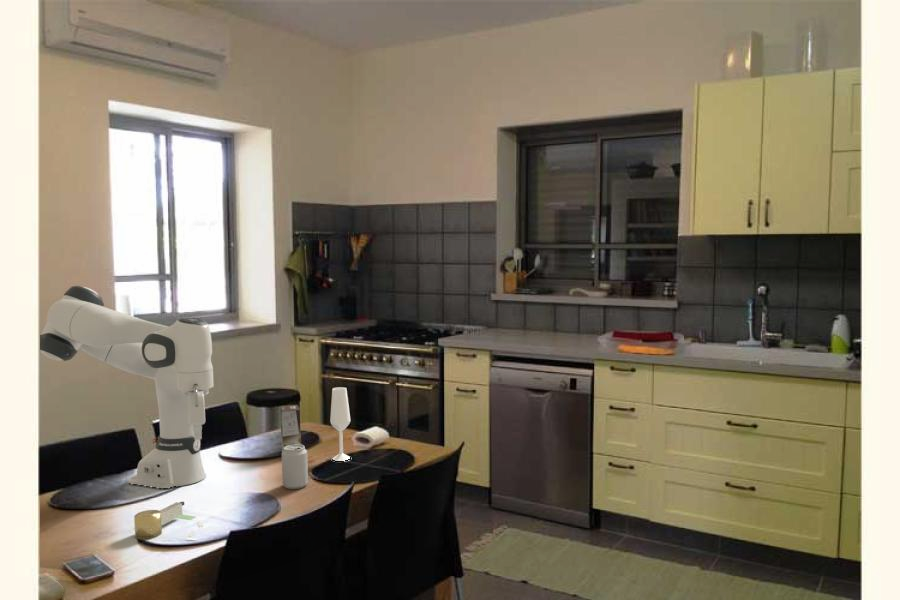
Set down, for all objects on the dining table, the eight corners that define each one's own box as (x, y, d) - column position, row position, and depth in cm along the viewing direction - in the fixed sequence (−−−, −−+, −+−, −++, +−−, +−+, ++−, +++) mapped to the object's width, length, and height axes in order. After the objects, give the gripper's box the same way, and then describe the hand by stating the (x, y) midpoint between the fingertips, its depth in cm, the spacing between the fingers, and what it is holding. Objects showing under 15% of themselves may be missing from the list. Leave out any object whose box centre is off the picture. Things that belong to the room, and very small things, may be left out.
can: (302, 490, 203) (300, 450, 202) (278, 489, 204) (276, 449, 204) (312, 482, 210) (310, 443, 209) (289, 481, 212) (287, 442, 211)
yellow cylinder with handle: (149, 540, 165) (148, 520, 165) (129, 537, 167) (128, 517, 167) (192, 517, 180) (192, 498, 180) (173, 514, 182) (173, 496, 181)
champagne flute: (337, 455, 238) (335, 386, 237) (355, 457, 236) (353, 387, 234) (327, 460, 232) (325, 390, 230) (345, 462, 230) (343, 391, 228)
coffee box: (301, 455, 238) (300, 409, 237) (282, 457, 237) (281, 411, 235) (299, 448, 247) (298, 404, 246) (281, 450, 245) (279, 405, 244)
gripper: (209, 387, 168) (212, 443, 169) (207, 374, 187) (209, 424, 188) (181, 389, 166) (184, 446, 167) (182, 375, 185) (184, 426, 186)
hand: (197, 434), depth 178 cm, fingers open, 8 cm apart
